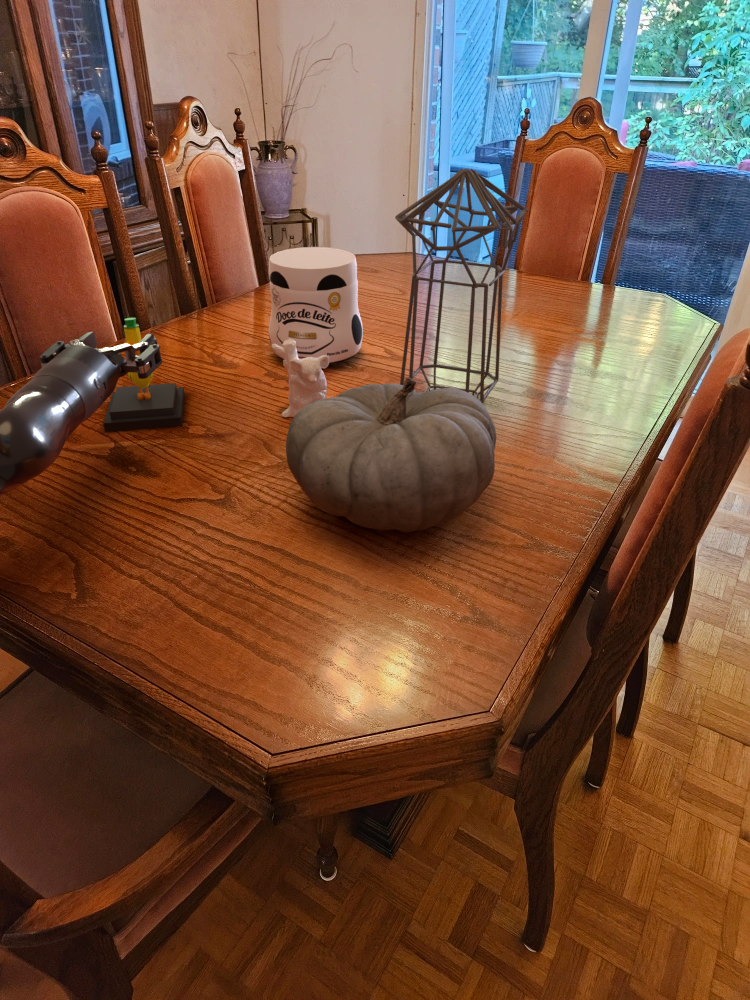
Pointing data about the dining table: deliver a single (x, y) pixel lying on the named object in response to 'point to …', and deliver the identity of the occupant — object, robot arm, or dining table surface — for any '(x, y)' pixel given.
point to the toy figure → (134, 338)
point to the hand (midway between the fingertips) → (122, 339)
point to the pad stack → (145, 408)
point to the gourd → (393, 454)
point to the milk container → (315, 302)
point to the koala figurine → (302, 377)
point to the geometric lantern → (484, 197)
